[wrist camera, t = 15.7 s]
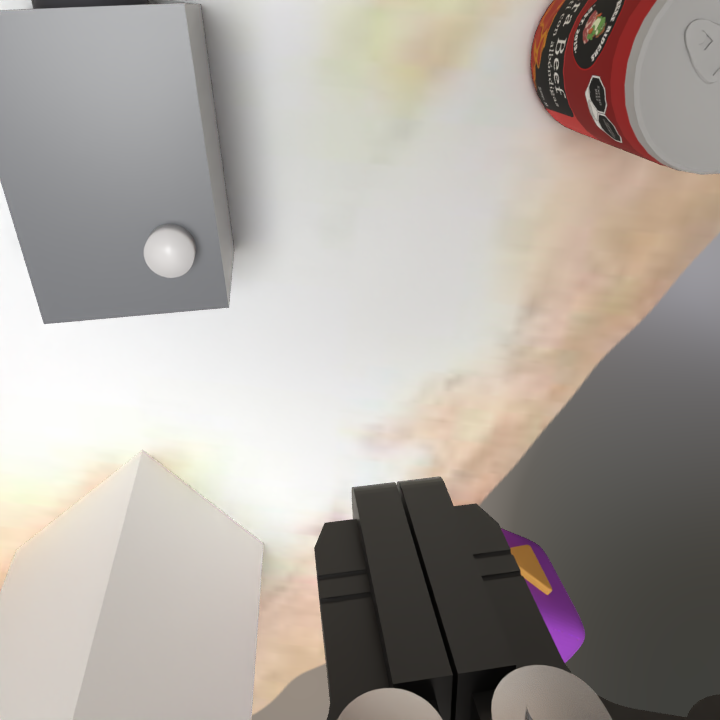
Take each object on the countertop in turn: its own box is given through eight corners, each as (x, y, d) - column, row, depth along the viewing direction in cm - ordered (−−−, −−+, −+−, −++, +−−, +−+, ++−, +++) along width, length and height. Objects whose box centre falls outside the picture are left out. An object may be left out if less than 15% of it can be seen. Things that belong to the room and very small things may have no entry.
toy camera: (391, 486, 46) (423, 598, 37) (553, 519, 50) (616, 628, 41) (341, 592, 50) (359, 714, 42) (493, 615, 54) (539, 731, 45)
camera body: (2, -59, 28) (-97, -86, 20) (191, -65, 29) (166, -92, 21) (84, 261, 35) (34, 334, 27) (234, 249, 36) (228, 316, 28)
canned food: (570, -61, 31) (710, -92, 21) (697, 8, 33) (875, 8, 24) (498, 98, 34) (593, 133, 25) (620, 152, 36) (749, 202, 27)
